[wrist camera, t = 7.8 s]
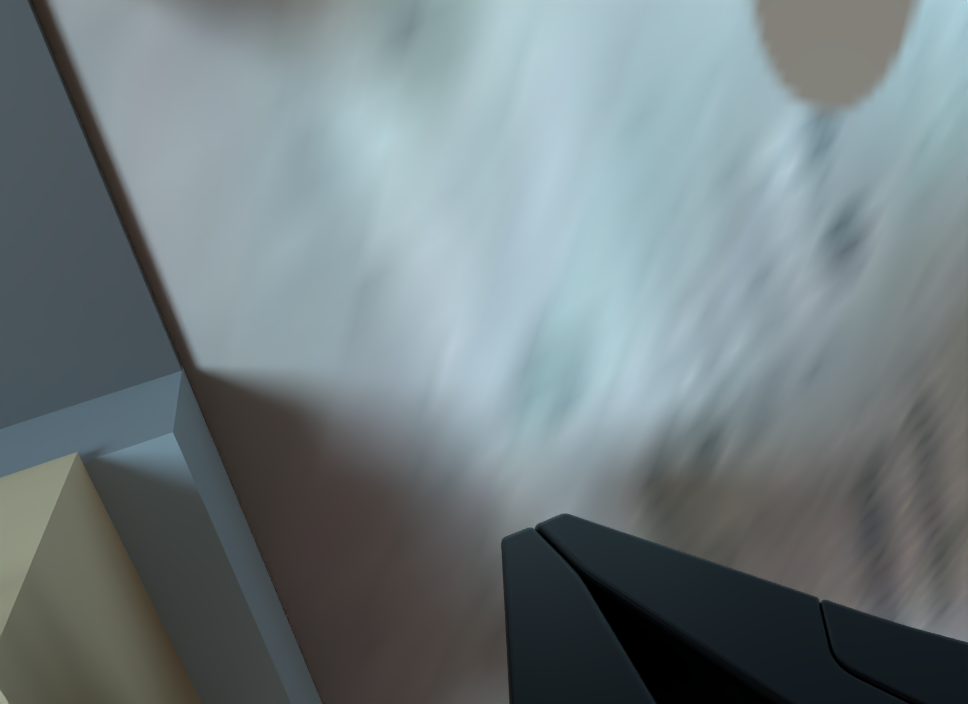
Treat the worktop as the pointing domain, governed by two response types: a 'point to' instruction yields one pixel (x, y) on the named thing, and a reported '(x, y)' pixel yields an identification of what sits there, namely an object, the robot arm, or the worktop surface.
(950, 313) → the worktop surface
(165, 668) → the block
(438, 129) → the worktop surface
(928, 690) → the robot arm
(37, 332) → the board
